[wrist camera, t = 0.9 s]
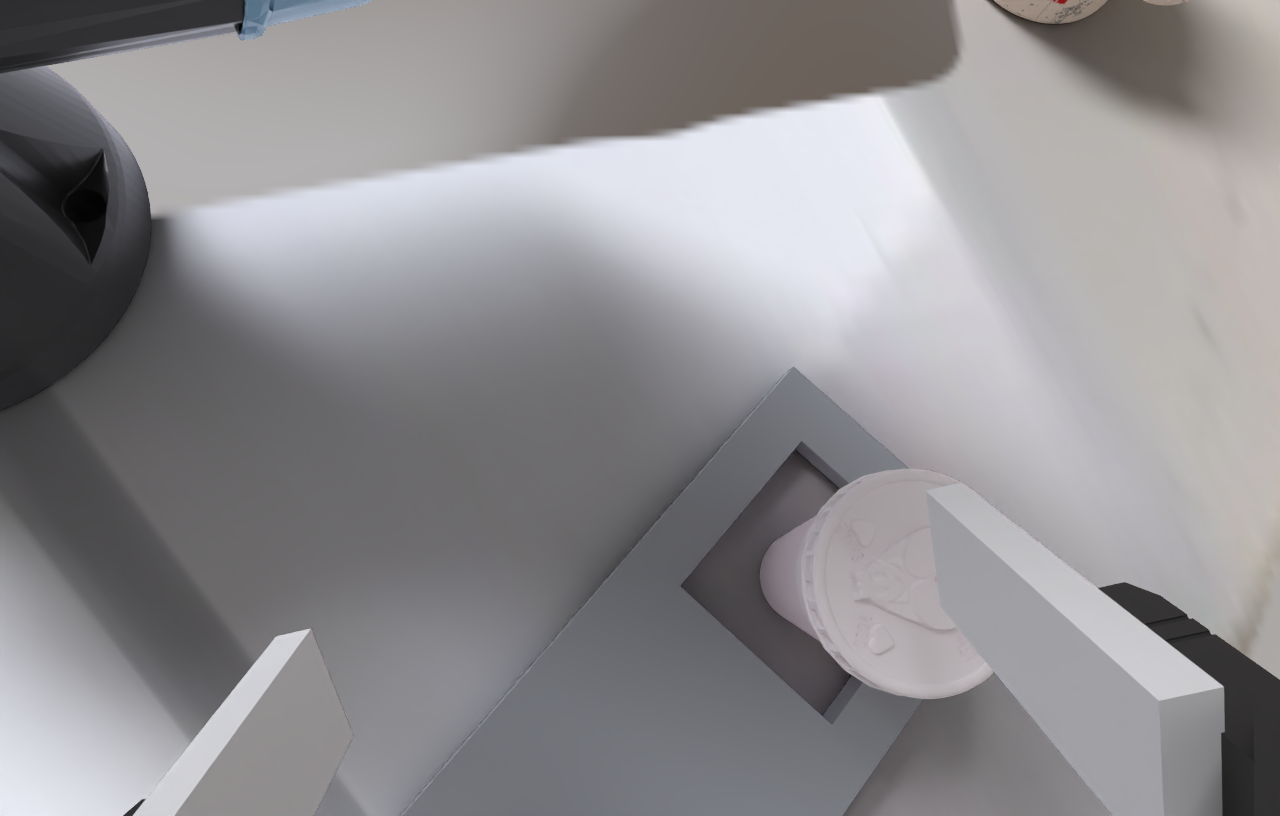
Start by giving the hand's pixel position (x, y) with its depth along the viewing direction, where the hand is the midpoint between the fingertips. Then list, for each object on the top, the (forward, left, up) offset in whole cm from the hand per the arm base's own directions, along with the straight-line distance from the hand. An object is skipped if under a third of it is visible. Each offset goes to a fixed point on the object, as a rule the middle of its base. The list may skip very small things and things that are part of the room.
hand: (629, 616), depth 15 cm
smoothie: (+6, +6, -14) cm, 16 cm away
